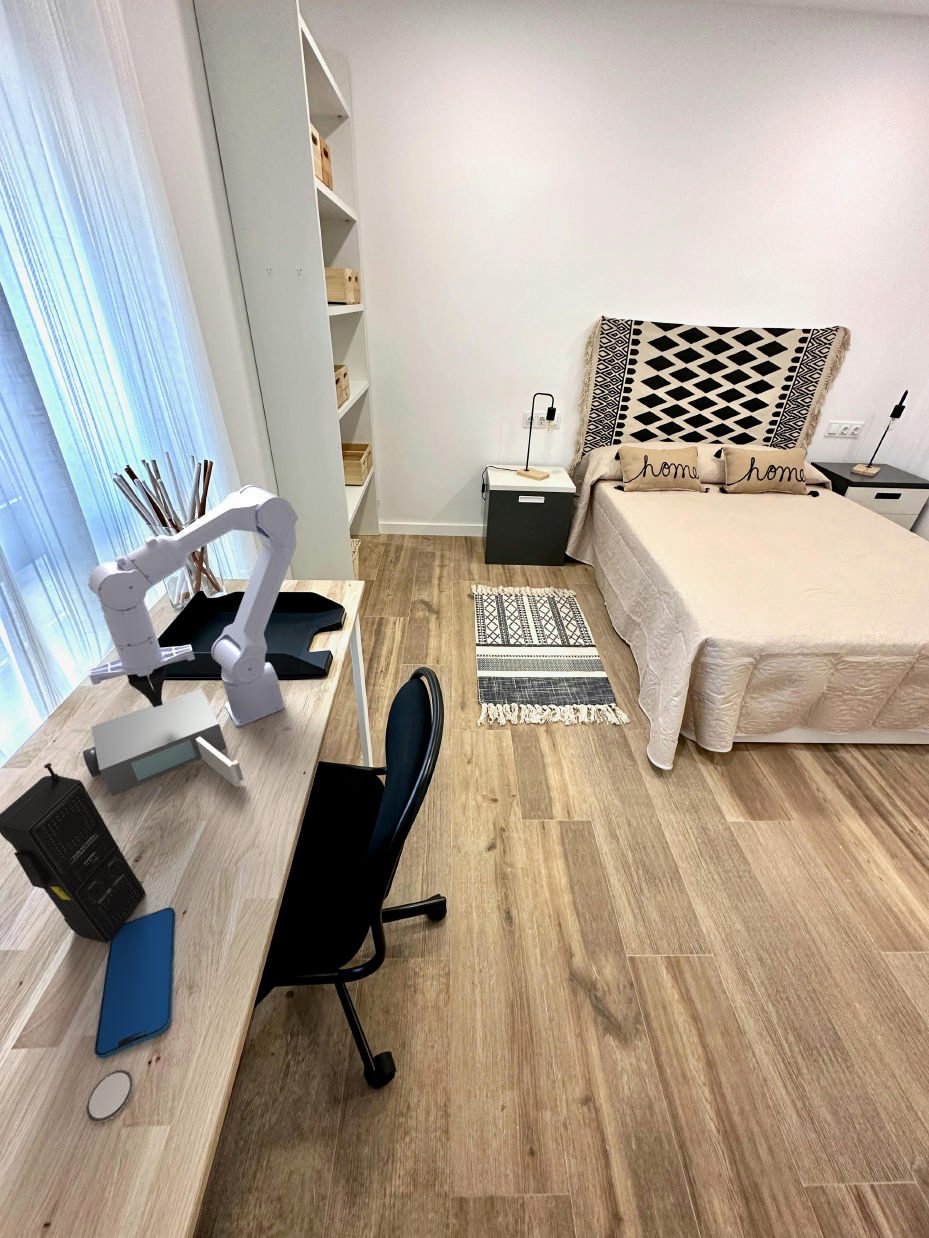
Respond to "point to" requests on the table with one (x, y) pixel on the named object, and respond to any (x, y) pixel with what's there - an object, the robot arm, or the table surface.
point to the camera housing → (152, 741)
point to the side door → (220, 762)
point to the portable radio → (72, 856)
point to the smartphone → (137, 983)
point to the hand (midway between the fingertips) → (157, 702)
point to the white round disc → (109, 1095)
